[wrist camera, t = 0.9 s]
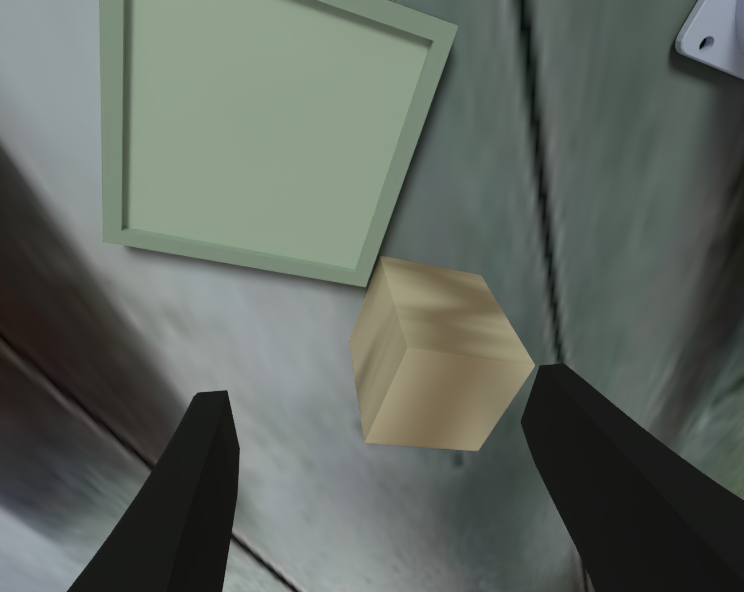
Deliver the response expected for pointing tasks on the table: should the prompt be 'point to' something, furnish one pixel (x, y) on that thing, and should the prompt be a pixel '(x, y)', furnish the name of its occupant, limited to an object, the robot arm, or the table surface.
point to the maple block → (433, 357)
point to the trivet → (263, 127)
